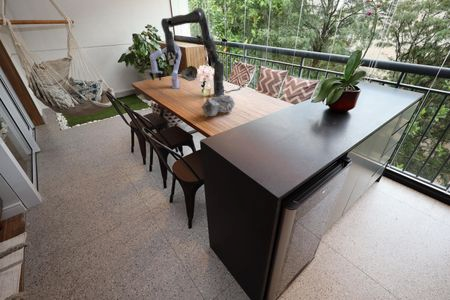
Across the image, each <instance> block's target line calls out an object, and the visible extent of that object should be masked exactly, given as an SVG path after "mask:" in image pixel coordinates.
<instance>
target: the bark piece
mask: <svg viewBox="0 0 450 300" xmlns="http://www.w3.org/2000/svg"><path fill="white" fill-rule="evenodd" d="M197 70H198V69H197V67H196V66H193V65H189V66H186V67H185V68H184V69H183V70H182V71H179V72H178V73H179V74H180V76H181V77H183V78H185V79H186V80H188V81H193V80H195V79H197V78H198V72H197Z"/></svg>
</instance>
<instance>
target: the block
mask: <svg viewBox="0 0 450 300" xmlns="http://www.w3.org/2000/svg"><path fill="white" fill-rule="evenodd" d="M169 63H170V64H169ZM168 64H169V66H174V65H175V64H174V59H170V60H169V61H168Z"/></svg>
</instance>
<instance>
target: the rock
mask: <svg viewBox="0 0 450 300" xmlns="http://www.w3.org/2000/svg"><path fill="white" fill-rule="evenodd" d="M235 106H236V104H235V100H234V99H233V98H232V96H230V95H223V96H221V97H215V96H214V97H212V98H209V97H207V99H206V100H205V102H204V103H203V104H202V106H201V107H200V108H201V110H202V112H203V115H204V116H205V118H207V117H215V116H217V115H218V113H225V114H227V113H228V114H230V113H231V112H232V111H233V109H234V107H235Z"/></svg>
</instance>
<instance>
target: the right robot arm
mask: <svg viewBox="0 0 450 300" xmlns="http://www.w3.org/2000/svg"><path fill="white" fill-rule="evenodd" d="M186 24H199V27H200V30H201V31H200V32H201V41H202V43H203V46H204V48H205V51H206V52H207V55H208V58H209V59H210V64H211V66H212V68H213V76H212V77H213V79H212V80H213V81H212V82H213V96H214V98H215V97H223V96H225V92H226V93H230V92H233V91H234V89H231V90H228V91H227V90H226V89H225V86H224V74H225V72H224V71H225V65H224V63H223V61H221V59H220V58H219V56H218V53H217V47H216V43H215V40H214V37H213V35H212V32H211V29H210V27H209V24H208V20H207V16H206V13H205V11H204V10H203V8H201V7H197V8H195V9H193V10H192V11H190V12H188V13H187V14H177V15H173V16H172V17H165V18H162V19H161V21H160V25H161V28H162V31H163V33H164V40H165V41H164V42H165V48H166V49H167V52H164V53H163V55H164V57H165V59H166V60H168V64H169V65H170V63H169V60H171V57H172V59H173V60H174V64H176V59H178V54H179V53H178V52H176V51H175V47H174V43H175V40H174V34H173V31H171V30H170V29H171V28H173V27H177V26H181V25H182V26H183V25H186ZM243 87H246V85H245V84H243V85H241V86H240V87H239V88H237V89H235V91H239V90H240V89H241V88H243Z"/></svg>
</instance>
